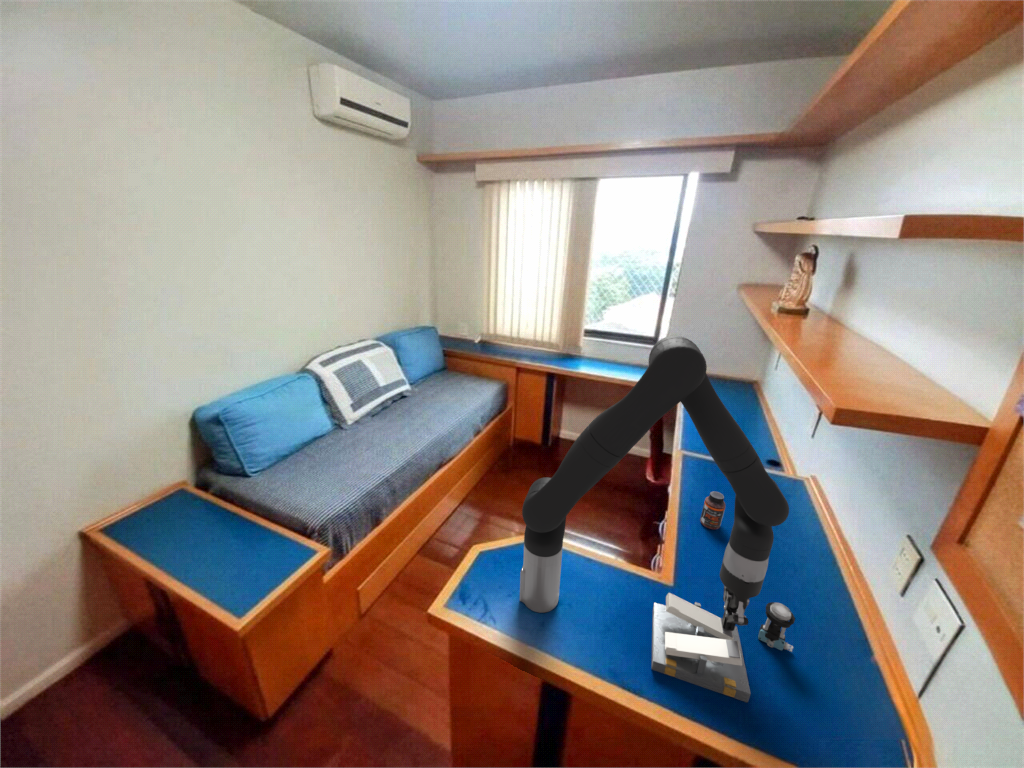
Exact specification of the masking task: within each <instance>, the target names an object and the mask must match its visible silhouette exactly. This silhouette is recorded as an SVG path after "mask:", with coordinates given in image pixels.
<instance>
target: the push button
mask: <svg viewBox="0 0 1024 768" xmlns="http://www.w3.org/2000/svg"><path fill="white" fill-rule="evenodd" d="M765 615H766V617H767V619H766V621H765V623H764V624H761V625H760V628H759V630H758V636H757V637H758V638H757V639H758V640H760V641H762V642H763V643H765V644H766V645H767V646H768V647H770V648H775V649H777V650H779V651H783V650H787V651H789V652H791V653H793V650H794V646H793V645H791V644H789V642H786V635H785V632H786V631H787V630H786V629H788V628H791V626H792V625H793V624H795V622H796V621H795V620H796V618H795V615H794V613H793V612H792V611H791V610H790V608H789V607H787V606H786V605H785V604H783V603H780V602H774V601H771V602H768V603H766V604H765Z"/></svg>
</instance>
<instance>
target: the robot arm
mask: <svg viewBox="0 0 1024 768" xmlns="http://www.w3.org/2000/svg"><path fill="white" fill-rule="evenodd" d="M701 351H702V350H700V348H699V347H698V345H697V344H696V343H694V342H693V341H692V340H691V339H689V338H686V337H684V336H680V335H670V336H665V337H663V338H661V339H659V340H658V341H657V342H655V343H654V345H653V346H652V348H651V350H650V352H649V356H648V366H647V368H646V370H645V371H644V373H643V374H642V376H641V377H640V378H639V380H638V381H637V382H636V383H635V384H634V386H633V387H632V388H631V390H629V391H628V392H627V394H626V395H625V396H624V397H623V398H622V399H620V400H619V401H617V402H616V403H614V404H613V405H611V406H609V407H608V408H607V409H605V410H604V411H602V412H601V413H600V414H598V415H597V416H596V417H595V418H593V420H592V421H591V422H590V423H589V424H588V425H587V426H586V427H585V428H584V430H582V432H581V433H580V434H579V435H578V436H577V438H576V439H575V441H574V442H573V444H572V445H571V447H570V448H569V449H568V451H567V453H566V454H565V456H564V458H563V460H562V461H561V463H560V465H559V466H558V468H557V470H556V471H555V473H554V474H553V475H552V476H551V477H547V476H546V477H541V478H538V479H536V480H535V481H534V482H533V483H532V484H531V486H530V487H529V490H528V492H527V493H526V496H525V499H524V501H523V504H522V508H521V509H522V511H521V515H522V519H523V521H524V524H525V528H524V535H523V536H524V537H523V564H522V566H521V567H522V568H521V569H520V573H519V574H520V576H519V602H521V603H523V604H525V606H526V608H528V609H529V610H531V611H532V612H535V613H543V614H544V613H549V612H551V611H553V610H554V609H555V608H556V606H557V605H558V602H559V598H560V597H559V596H560V584H561V573H562V572H561V571H562V560H563V559H562V558H563V543H564V536H565V531H566V524H567V523H566V521H567V516H568V515H569V513H570V512H571V510H572V509H573V508H575V507H574V506H576V504H577V503H578V502H579V501H580V500H581V499H582V497H584V496H585V495H586V494H588V492H589V491H590V490H591V489H592V488H593V487H594V486H595V485H596V484H597V483H598V482H600V481H601V479H603V477H605V476H606V475H607V474H608V473H609V472H610V471H611V470H612V469H613V468H615V467H616V466H617V464H618V463H620V462H621V460H622V459H624V457H625V456H626V455H628V453H629V452H630V450H632V449H633V448H634V446H636V444H637V443H638V442H639V441H641V439H643V437H645V435H646V434H647V433H648V432H649V430H650V429H651V428H652V427H653V426H654V425H655V424H656V423H657V422H658V421H659V420H660V419H662V417H664V416H665V415H666V414H667V413H668V412H670V411H671V410H672V409H673V408H674V407H676V406H677V405H679V404H680V403H681V404H682V406H683V407H684V409H685V411H686V412H687V413H688V414H687V415H688V416H689V418H690V419H691V421H692V423H693V425H694V427H695V429H696V431H697V433H698V435H699V436H700V439H701V440H702V441H701V442H702V443H703V444H704V447H705V448H706V450H707V451H708V453H709V455H710V457H711V458H712V459H713V461H714V463H715V464H716V466H717V467H718V469H719V470H720V471H721V472H720V473H722V474H723V476H725V478H726V480H727V481H728V483H729V484H730V486H731V488H732V489H733V492H734V494H735V496H734V514H733V515H734V517H733V525H732V529H731V531H730V532H731V533H730V536H729V540H728V543H727V545H726V547H725V550H724V555H723V557H722V563H721V567H720V570H719V578H720V581H721V583H722V585H723V596H722V597H723V598H722V600H723V602H724V605H723V610H724V612H723V616H722V625H723V628H724V629H727V630H730V631H734V628H735V626H740V627H742V626H748V624H749V618H748V617H747V615H745V612H746V609H747V607H748V606H749V604H750V599H752V598H754V597H757V596H759V594H761V590H762V587H763V585H764V584H763V583H764V580H765V577H766V573H767V571H768V567H769V559H770V554H771V551H772V548H773V544H774V538H775V537H774V530H773V527H777V526H780V525H782V524H783V523H784V522H786V520H787V519H788V517H789V514H790V506H789V503H788V501H787V498H786V497H785V495H784V494H783V492H782V490H781V489H780V487H779V486H778V484H777V482H776V481H775V480H774V479H773V478H772V477H771V476H770V475H769V473H768V472H767V470H766V469H765V467H764V464H763V462H762V460H761V458H760V456H759V454H758V452H757V451H756V449H755V448H754V446H753V445H752V443H751V441H750V440H749V438H748V437H747V436H746V434H745V432H744V431H743V430H742V428H741V427H740V424H738V422H737V421H736V420H735V418H734V417H733V415H732V414H731V413H730V411H729V409H728V408H727V407H726V406H725V404H724V403H723V401H722V399H721V398H720V396H719V395H718V394H717V392H716V390H715V388H714V386H713V384H712V382H711V381H710V379H709V377H708V374H707V370H708V369H707V367H708V366H707V361H706V358H705V356H704V354H703V353H702V352H701Z"/></svg>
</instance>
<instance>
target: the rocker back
mask: <svg viewBox="0 0 1024 768" xmlns="http://www.w3.org/2000/svg"><path fill="white" fill-rule="evenodd" d="M665 606H666V611H667V612H669V613H671V614H673V615H675V616H677V617H679V618H681V619H683V620H685V621H687V622H689V623H691V624H692V625H694V626H696V627H697V626H699V627H703V629H704V631H706V632H708V633H710V634H712V635H714V636H716V637H718V638H720V639H726V640H733V634H732V631H730V630H727V629H724V628H723V625H722V619H723V617H719V616H717V615H716V614H713V613H711V612H709V611H708V610H705V609H703V608H699V607H697V606H695V605H694V604H693V603H691V602H689V601H687V600H685V599H684V598H681V597H679V596H677V595H675V594H674V593H671V592H668V593H667V594H666V596H665Z"/></svg>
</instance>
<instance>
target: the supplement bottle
mask: <svg viewBox="0 0 1024 768" xmlns="http://www.w3.org/2000/svg"><path fill="white" fill-rule="evenodd" d="M724 500H725V496H724V494H723V493H721V492H719V491H710V493H709V496H706V497H705V499H704V503H703V506H702V511H701V514H700V518H699V521H700V523H701V525H702V526H704V527H705V528H706V529H710V530H719V529H720V528H721V525H722V521H723V518H724V514H725V510H726V502H725V501H724Z"/></svg>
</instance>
